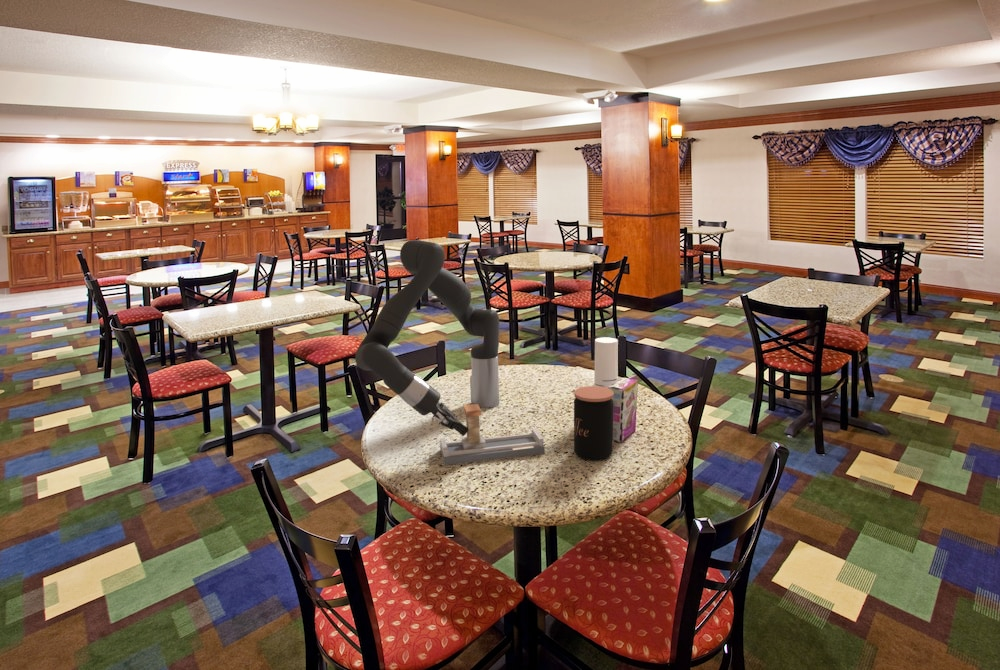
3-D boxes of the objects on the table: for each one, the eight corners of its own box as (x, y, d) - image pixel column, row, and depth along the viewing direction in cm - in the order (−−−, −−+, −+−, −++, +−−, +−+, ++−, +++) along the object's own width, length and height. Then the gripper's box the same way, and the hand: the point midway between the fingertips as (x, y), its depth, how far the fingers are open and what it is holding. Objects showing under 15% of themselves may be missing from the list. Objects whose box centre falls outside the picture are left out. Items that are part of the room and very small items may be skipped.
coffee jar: (570, 446, 172) (570, 386, 168) (607, 444, 173) (607, 385, 169) (578, 463, 162) (578, 399, 158) (617, 460, 163) (618, 397, 159)
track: (444, 465, 163) (444, 451, 162) (440, 450, 172) (439, 437, 171) (544, 453, 168) (544, 440, 168) (534, 439, 178) (534, 426, 177)
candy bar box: (622, 443, 174) (623, 389, 170) (606, 440, 176) (607, 386, 173) (637, 430, 183) (638, 379, 179) (621, 427, 185) (622, 376, 182)
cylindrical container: (616, 419, 192) (617, 343, 186) (593, 418, 193) (594, 342, 188) (616, 411, 199) (617, 337, 193) (594, 410, 200) (595, 337, 194)
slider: (464, 451, 166) (462, 411, 163) (461, 444, 171) (459, 405, 168) (485, 448, 167) (484, 409, 164) (482, 441, 172) (481, 403, 169)
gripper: (430, 392, 156) (479, 431, 161) (425, 377, 168) (470, 414, 174) (411, 413, 156) (460, 452, 161) (407, 396, 168) (453, 433, 174)
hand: (465, 432), depth 167 cm, fingers closed
